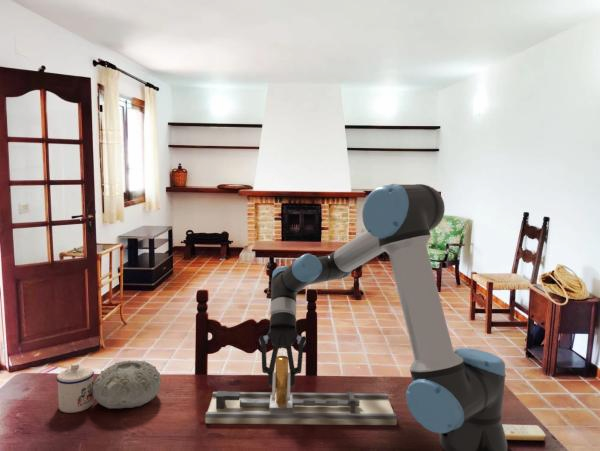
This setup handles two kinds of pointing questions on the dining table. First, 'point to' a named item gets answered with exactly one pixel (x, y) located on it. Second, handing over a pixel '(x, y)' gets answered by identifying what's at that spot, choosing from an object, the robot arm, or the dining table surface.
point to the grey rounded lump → (127, 384)
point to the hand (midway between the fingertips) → (281, 398)
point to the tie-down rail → (302, 410)
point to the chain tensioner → (281, 394)
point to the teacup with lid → (75, 388)
